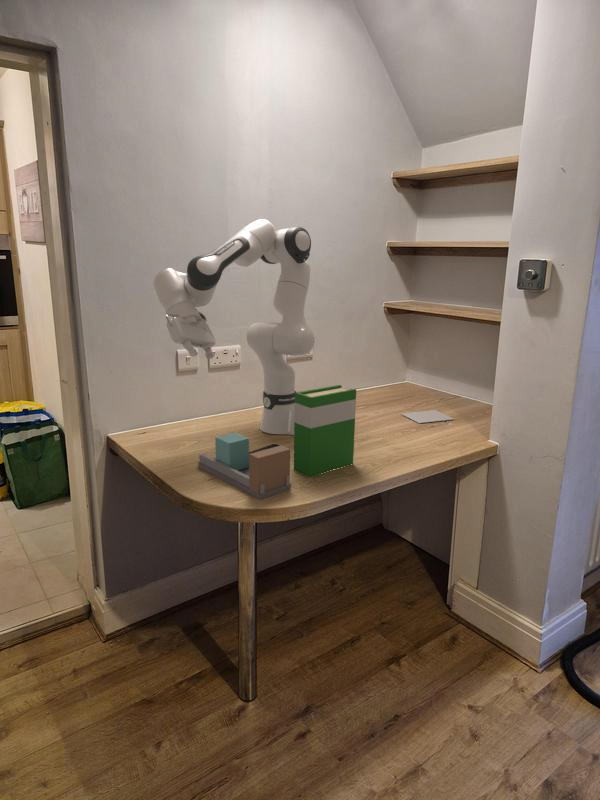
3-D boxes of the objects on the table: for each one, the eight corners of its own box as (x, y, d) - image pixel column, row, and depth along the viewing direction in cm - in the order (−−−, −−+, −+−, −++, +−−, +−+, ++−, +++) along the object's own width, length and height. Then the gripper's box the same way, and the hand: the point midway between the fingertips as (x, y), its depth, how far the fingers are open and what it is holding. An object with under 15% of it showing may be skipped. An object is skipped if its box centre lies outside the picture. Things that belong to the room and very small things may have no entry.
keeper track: (228, 459, 180) (227, 424, 177) (290, 488, 159) (291, 449, 156) (198, 467, 173) (197, 430, 170) (259, 499, 152) (259, 458, 149)
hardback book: (336, 457, 183) (339, 384, 177) (353, 464, 178) (356, 389, 172) (293, 470, 173) (294, 392, 167) (309, 477, 167) (311, 397, 161)
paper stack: (470, 427, 219) (470, 425, 219) (413, 434, 210) (414, 432, 209) (434, 411, 240) (434, 410, 239) (382, 417, 231) (382, 415, 230)
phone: (291, 448, 189) (260, 460, 177) (291, 452, 189) (260, 464, 178) (274, 443, 193) (242, 454, 182) (274, 446, 194) (242, 457, 183)
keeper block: (235, 460, 174) (234, 432, 172) (249, 467, 169) (249, 438, 167) (215, 466, 169) (215, 437, 167) (229, 473, 164) (229, 443, 162)
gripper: (172, 306, 164) (192, 348, 162) (208, 317, 183) (226, 354, 181) (156, 318, 166) (175, 359, 164) (193, 327, 185) (211, 364, 183)
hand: (202, 356), depth 172 cm, fingers open, 8 cm apart
